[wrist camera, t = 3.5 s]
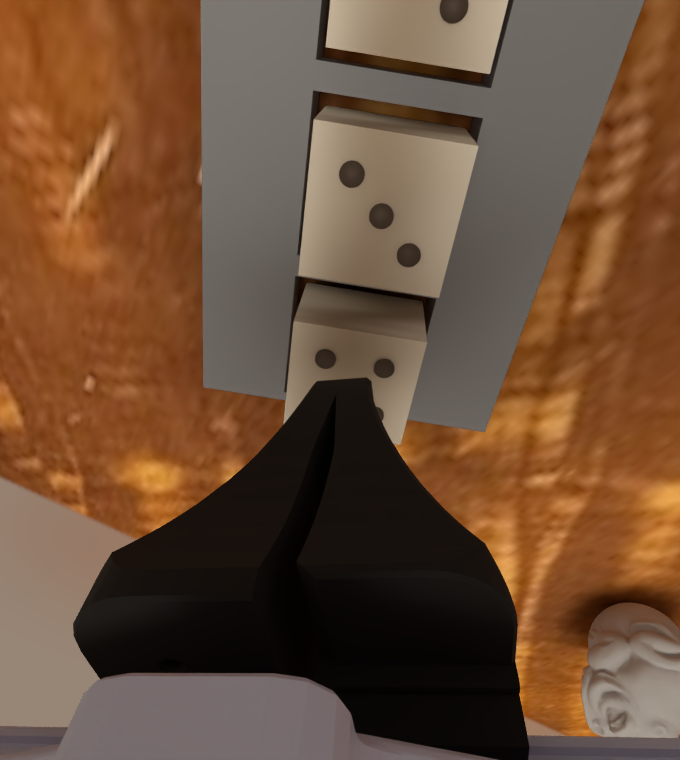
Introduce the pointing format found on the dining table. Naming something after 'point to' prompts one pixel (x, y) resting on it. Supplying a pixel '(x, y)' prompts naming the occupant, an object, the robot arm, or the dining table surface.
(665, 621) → the frog figurine
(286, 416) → the beige square block
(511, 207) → the grey slotted tray
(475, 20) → the cream dice block
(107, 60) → the dining table surface
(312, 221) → the beige small block
